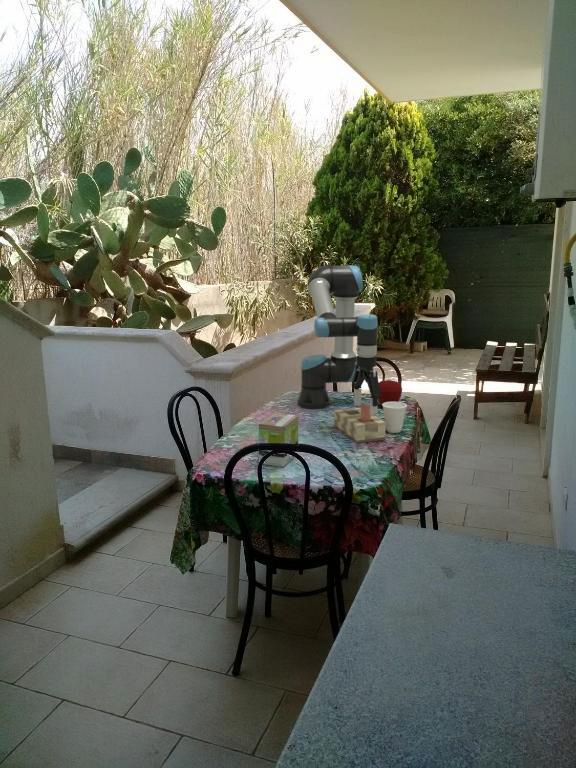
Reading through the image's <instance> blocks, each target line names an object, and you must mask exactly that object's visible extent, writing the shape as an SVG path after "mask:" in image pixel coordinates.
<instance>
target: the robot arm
mask: <svg viewBox="0 0 576 768" xmlns="http://www.w3.org/2000/svg"><path fill="white" fill-rule="evenodd" d="M363 287H364V285H363V276H362V271H361V269H360V268H359V266H357V265H350V264H348V265H346V264H345V265H343V264H342V265H324V266H320V267H318V268H316V269H315V270H314V271H313V272H312V273H311V274H310V276H309V277H308V280H307V287H306V288H307V291H308V294H309V295H310V296H311V297H312V301H313V302H312V303H313V307H314V310H315V314H316V318H314V322H313V331H314V336H315V337H316V338H317V337H318V338H334V344H333V345H334V346H333V347H334V348H333V349H334V350H333V351H332V352H331V353H330V357H327V355H326V354H313V355H308V356H306V357H303V358H302V360H301V363H300V364H301V366H300V370H301V372H300V373H301V375H300V377H301V379H300V380H301V382H300V383H301V389H300V392H299V395H298V399H297V406H298V407H300V408H303V409H311V410H315V409H316V410H318V409H325V408H328V407H330V406H331V405H330V404H331V403H330V401H331V400H330V396H329V395H328V394H329V393H328V390H327V384H331V383H332V384H333V383H335V384H337V383H338V384H339V383H345V384H346V383H351V387H353V389H354V393H353V394H354V398H353V399H354V400H353V405H354V406H361V405H362V385H363V383H364V382H365V383H367V388H368V389H369V393H370V397H369V400H370V401H369V404H370V415H378V404H379V401H378V397H381V392H380V387H379V382H380V381H379V377H378V371H377V370H374V367H376V366H377V352H378V349H377V348H378V316H377V315H375V314H369V313H367V314H366V313H365V314H359V315H357V316H355V305H356V304H355V302H356V299H358V298H359V293H362V292H363ZM331 293H332V294H331ZM331 295H332V296H331ZM331 297H332V298H334V300H335V306H334V304H333V301H332V298H331ZM354 337H356V348H355V349H356V352H354Z"/></svg>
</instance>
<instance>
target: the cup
mask: <svg viewBox="0 0 576 768" xmlns="http://www.w3.org/2000/svg"><path fill="white" fill-rule="evenodd" d="M381 406H382V410H383V416H384V422H386V428H385V431H387V433H390V434H399V433H401V432H402V430H403V425H404V420H405V416H406V410H407V408H408V405H407V403H405V402H401V401H399V402H385V403H383V404H382V405H381Z"/></svg>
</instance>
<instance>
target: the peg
mask: <svg viewBox="0 0 576 768" xmlns="http://www.w3.org/2000/svg"><path fill="white" fill-rule="evenodd" d="M360 408H361V423H364V422H371V415H370V403H364V404H363V403H361V405H360Z"/></svg>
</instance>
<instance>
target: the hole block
mask: <svg viewBox="0 0 576 768" xmlns="http://www.w3.org/2000/svg"><path fill="white" fill-rule="evenodd" d="M333 428H335V429H336V430H337V431H338V432H340V431H341V433H342V434H343V435H345V436H347V437H348V438H349V439H350V440H351V441H353V442H355V443H356V444H360V443H369V442H376V441H383V440H386V422H385V420H382V419H381V418H379V417H377V416H375V414H373V415H371V422H364V423H361V407H357V408H356V407H355V408H347V409H337V410H333Z"/></svg>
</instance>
